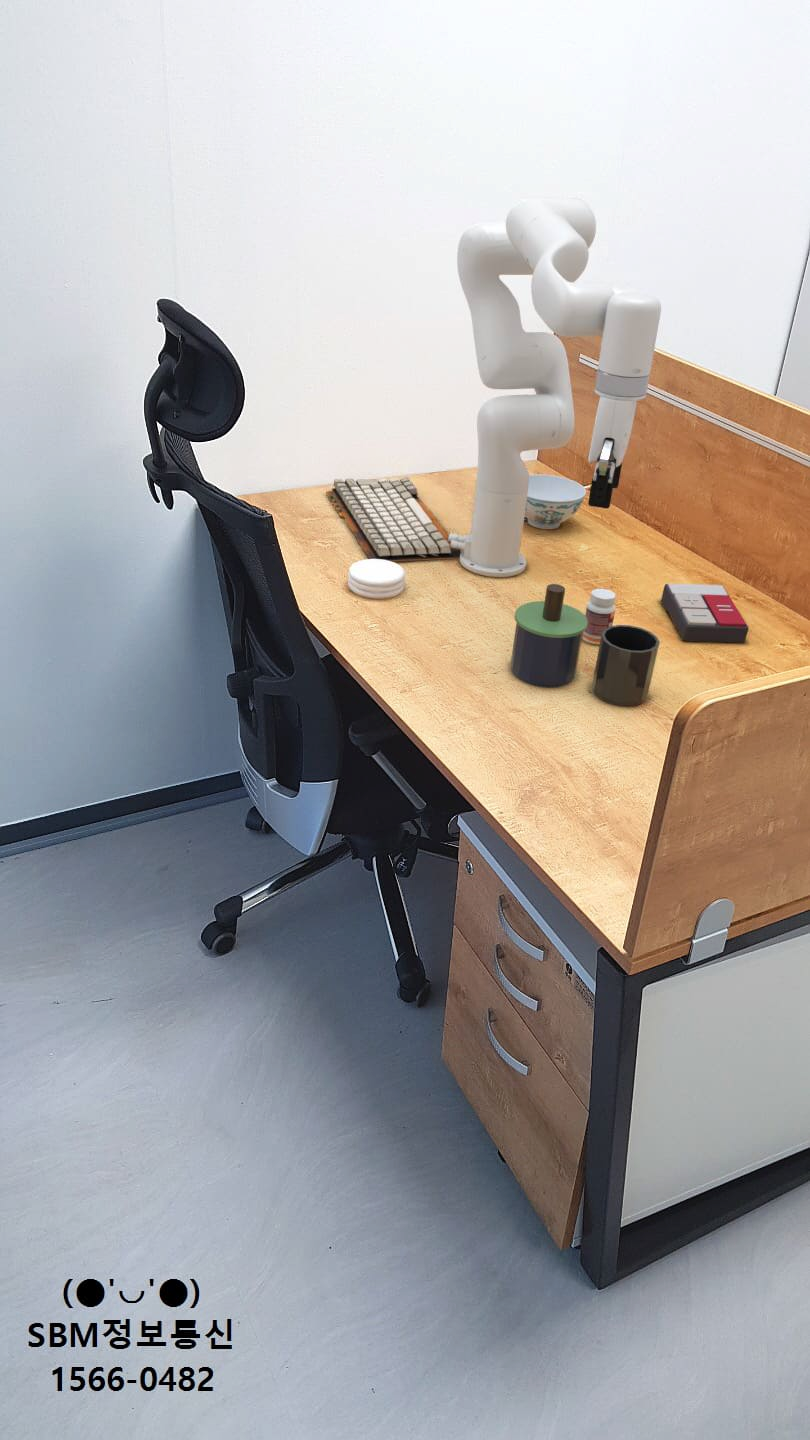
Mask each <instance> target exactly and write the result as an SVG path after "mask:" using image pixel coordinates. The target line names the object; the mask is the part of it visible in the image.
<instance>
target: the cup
mask: <svg viewBox="0 0 810 1440" xmlns="http://www.w3.org/2000/svg"><path fill="white" fill-rule="evenodd" d="M660 643H661V642H660V640H659V638H658V636H657V635H655V634H654V633H653V632H652V631H650V630H648V629H645V628H643V627H639V626H634V625H630V624H616V625H612V626H610V627H608V628H606V629H604V630H603V632H602V634H601V639H600V645H598V650H597V656H596V661H595V666H594V672H593V676H592V677H593V678H592V682H591V691H592V693H593V695H594V696H595V698H597V699H599V700H600V701H602V702H604V703H606V704H608V705H611V706H616V707H621V708H622V707H623V708H626V707H627V708H631V707H637V706H640V705H642V704H644V703H646V701H647V700H648V696H649V693H650V688H651V684H652V680H653V675H654V670H655V666H656V662H657V657H658V654H659V653H658V652H659V648H660Z"/></svg>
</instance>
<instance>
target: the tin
mask: <svg viewBox="0 0 810 1440" xmlns="http://www.w3.org/2000/svg"><path fill="white" fill-rule="evenodd" d="M515 623H516V624H515V630H514V636H513V637H514V638H513V645H512V651H511V660H510V670H511V673H512V675H513V676H514V677H515V678H516V679H517V680H519V681H521V682H523V683H525V684H528V685H531V686H534V687H538V688H549V689H551V688H560V687H564V686H567V685H569V684H570V683H572V682H573V681H574V680H575V677H576V674H577V669H578V664H579V659H580V653H581V648H582V641H583V638H582V637H583V633H581V634H579V635H576V636H573V637H567V638H552V637H545V636H541V635H537V634H534V633H531V632H529V631H527V630H525V629H523V628H522V627H521V626H519V625H518V624H517V622H515Z"/></svg>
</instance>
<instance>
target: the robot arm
mask: <svg viewBox="0 0 810 1440" xmlns="http://www.w3.org/2000/svg"><path fill="white" fill-rule="evenodd" d="M595 216H596V215H595V214H594V211H593V209H592V207H591V206H590V205H589V204H588V203H587V202H586V201H584V200H582V199H580V198H577V197H554V196H551V197H550V196H533V197H528V198H524V199H522V200H519V201H518V202H516V203H515V204H514V205H513V206H512V207H511V208H510V210H509V211H508V213H507V215H506V218H505V220H488V221H481V222H477V223H474V224H472V225H470V226H469V227H467V228H466V229H465V230H464V231H463V232H462V234H461V236H460V237H459V241H458V245H457V253H456V254H457V255H456V264H457V266H456V267H457V273H458V278H459V282H460V286H461V289H462V291H463V294H464V296H465V300H466V302H467V306H468V308H469V311H470V316H471V325H472V332H473V333H472V334H473V340H474V348H475V355H476V362H477V369H478V373H479V378H480V380H481V382H482V384H483V385H484V386H485V387H486V388H488V389H492V390H526V389H533V390H534V392H535V394H510V395H509V394H508V395H499V396H496V397H492V398H490V399H488V400H486V401H485V402H484V403H482V405H481V406H480V408H479V410H478V413H477V417H476V418H477V419H476V429H477V430H476V431H477V445H478V446H477V447H478V448H477V449H478V450H477V452H478V454H477V455H478V456H477V469H476V480H475V488H474V489H475V490H474V499H473V506H472V507H473V509H472V516H471V527H470V534H465V535H460V534H459V533H453V532H450V533H449V534H448V536H449V537H448V543H451V547H452V548H456V549H457V548H458V549H460V550H461V554H460V559H459V563H460V564H461V566H462V567H463V568H464V569H466V570H468V571H470V572H471V573H474V574H477V575H480V576H485V577H492V578H507V577H514V576H517V575H520V574H521V573H522V572H524V571H525V570H526V568H527V559H526V557H525V556H524V555H523V554H522V553H520V552H521V544H522V537H523V530H524V523H525V508H526V501H527V494H528V485H529V475H530V473H529V470H528V467H527V466H526V464H525V462H524V461H523V459H522V457H521V453H522V452H528V451H538V450H539V451H540V450H551V449H553V450H554V449H559V448H563V447H564V446H566V445H567V444H568V443H569V442H570V441H571V440H572V438H573V435H574V432H575V424H576V423H575V418H576V417H575V407H574V401H573V400H574V399H573V392H572V391H573V390H572V383H571V373H570V367H569V360H568V355H567V350H566V348H565V346H564V344H563V341H561V339H560V338H559V337H558V336H561V337H564V338H590V337H591V338H592V337H593V338H595V337H601V345H600V351H599V358H598V364H597V371H596V377H595V385H594V393H595V394H596V395H598V396H599V400H598V404H597V409H596V414H595V420H594V423H593V424H594V426H593V429H592V430H593V431H592V436H591V442H590V446H589V453H588V458H587V461H588V463H589V464H591V465H592V464H593V463H595V469H594V473H593V477H592V479H591V482H590V483H591V484H590V490H589V495H588V503H587V504H588V506H589V507H594V508H600V509H610V507H611V503H612V502H611V501H612V495H613V489H617V488H618V487H619V483H620V479H621V478H620V477H621V472H622V466H623V460H624V458H625V456H626V453H627V450H628V446H629V443H630V438H631V434H632V431H633V430H632V429H633V425H634V420H635V419H634V418H635V413H636V409H637V404H638V403H637V402H638V401H642V400H644V399H646V398H647V393H648V387H649V381H650V376H651V371H652V364H653V358H654V353H655V347H656V341H657V335H658V331H659V325H660V320H661V313H662V305H661V301H660V299H658V297H656V296H654V295H651V294H648V293H643V292H641V290H640V289H639V288H637V287H636V286H635V285H633V284H632V283H629V282H625V281H624V282H623V281H580V282H579V281H577V280H578V279H579V278H580V277H581V275H582V274H583V273H584V271H585V269H586V268H587V265H588V262H589V254H590V253H589V249H590V248H591V246H592V244H593V242H594V240H595V237H596V232H597V222H596V221H597V220H596V217H595ZM500 276H532V277H531V283H530V284H531V285H530V288H531V289H530V291H531V292H530V293H531V299H532V304H533V308H534V310H535V312H536V314H537V315H538V316H539V317H540V319H541V320H542V321H543V323H544V324H545V325H546V326H547V328H548V329H550V331H552V332H553V333H554V334H553V333H551V332H547V331H529V332H528V331H526V330H525V329H524V328H523V325H522V318H521V310H520V306H519V302H518V301H517V298H516V297H515V295H514V294H513V292H512V291H511V290H510V288H509V286H507V285H506V284H505V283H504V281H502V280H501V278H500ZM555 334H556V335H555ZM557 335H558V336H557Z"/></svg>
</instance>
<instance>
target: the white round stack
mask: <svg viewBox="0 0 810 1440" xmlns="http://www.w3.org/2000/svg"><path fill="white" fill-rule="evenodd" d="M405 577H406V571H405V569H404V568H403V566H401V565H399V564H398V563H397V562H391V561H388V560H382V559H369V558H367V559H361V560H358V561H355V562H353V563H352V564H351V565H349V568H348V577H347V578H348V581H347V586H348V588H349V589H350V591H352V592H353V593H354V594H356V595H358V596H361V597H363V598H368V599H375V600H376V599H377V600H381V599H382V600H383V599H384V600H385V599H390V598H394V597H396V596H398V595H400V594H401V593H402V592H403V591H404V589H405V582H406V580H405Z"/></svg>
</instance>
